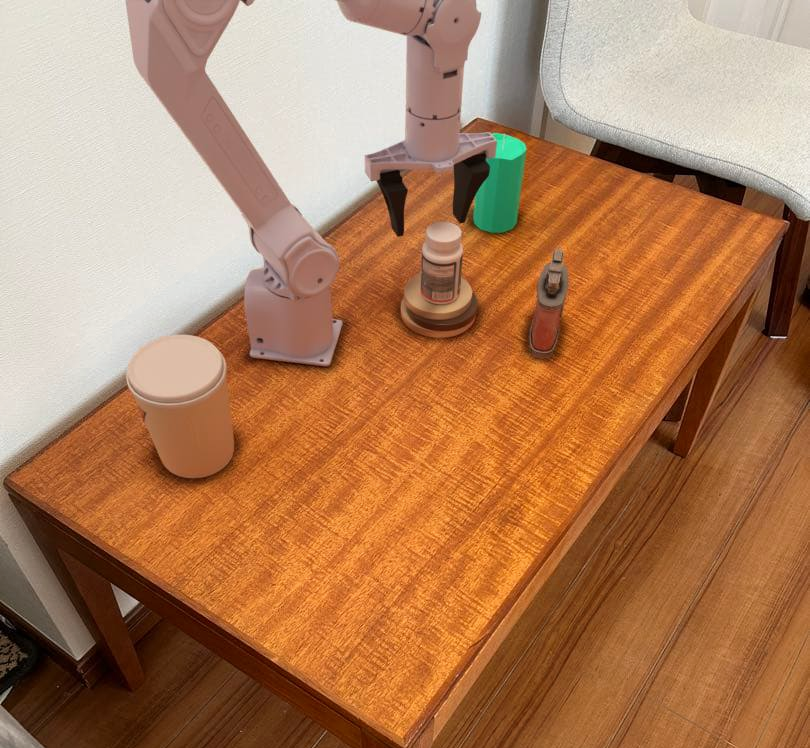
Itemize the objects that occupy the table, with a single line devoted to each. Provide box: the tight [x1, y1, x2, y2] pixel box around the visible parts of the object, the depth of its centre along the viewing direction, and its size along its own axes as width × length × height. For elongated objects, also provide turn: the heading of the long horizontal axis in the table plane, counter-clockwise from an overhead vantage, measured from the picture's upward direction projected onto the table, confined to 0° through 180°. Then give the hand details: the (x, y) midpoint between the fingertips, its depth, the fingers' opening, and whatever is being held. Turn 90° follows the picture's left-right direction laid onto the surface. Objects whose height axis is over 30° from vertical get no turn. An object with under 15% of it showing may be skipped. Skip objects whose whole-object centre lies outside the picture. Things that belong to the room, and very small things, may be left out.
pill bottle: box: [420, 220, 464, 304], centre depth 98 cm, size 5×5×8 cm
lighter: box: [528, 248, 570, 359], centre depth 97 cm, size 8×3×10 cm, turn 169°
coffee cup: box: [125, 334, 235, 479], centre depth 85 cm, size 9×9×12 cm
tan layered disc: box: [400, 272, 479, 339], centre depth 102 cm, size 9×9×3 cm
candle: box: [473, 132, 527, 234], centre depth 111 cm, size 6×6×12 cm
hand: (428, 225), depth 98 cm, fingers open, 7 cm apart
